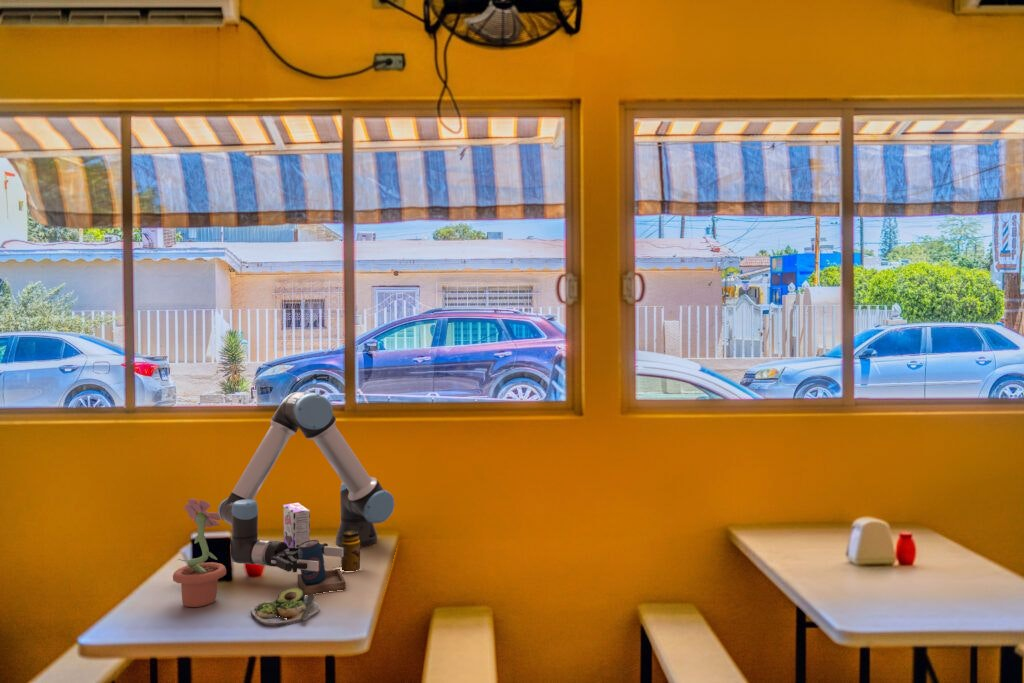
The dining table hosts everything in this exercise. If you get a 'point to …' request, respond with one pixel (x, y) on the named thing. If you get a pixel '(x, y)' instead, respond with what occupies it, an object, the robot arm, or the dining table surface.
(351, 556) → the condiment
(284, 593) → the avocado toast plate
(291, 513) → the candy box
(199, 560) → the decorative flower
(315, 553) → the soda can
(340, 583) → the walnut tray
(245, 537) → the robot arm
